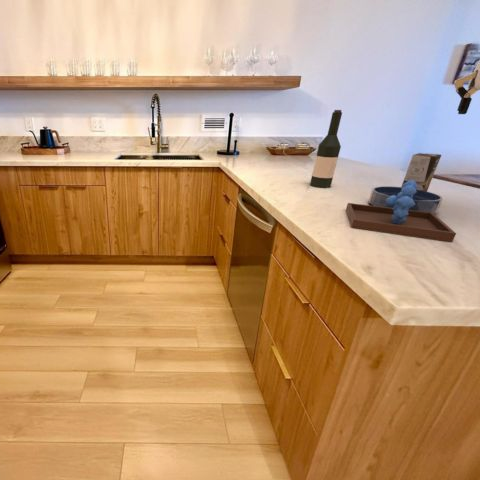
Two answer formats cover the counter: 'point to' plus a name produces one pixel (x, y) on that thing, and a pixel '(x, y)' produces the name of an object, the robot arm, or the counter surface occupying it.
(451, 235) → the tray
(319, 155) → the wine bottle
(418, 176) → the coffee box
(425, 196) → the bowl
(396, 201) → the grapes
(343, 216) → the counter surface
